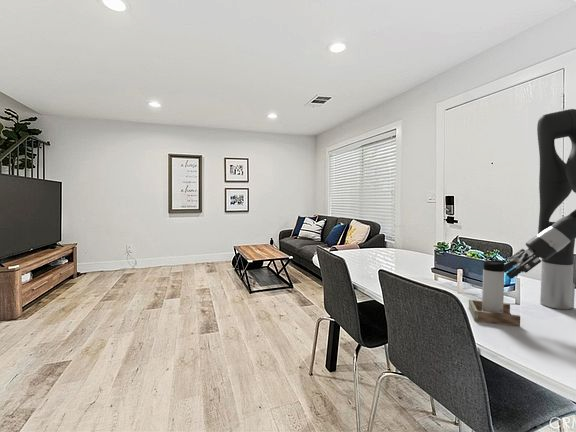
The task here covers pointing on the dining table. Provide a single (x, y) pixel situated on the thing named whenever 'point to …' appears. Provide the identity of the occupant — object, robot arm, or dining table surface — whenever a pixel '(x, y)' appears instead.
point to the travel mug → (493, 286)
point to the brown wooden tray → (493, 314)
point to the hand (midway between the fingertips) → (505, 273)
